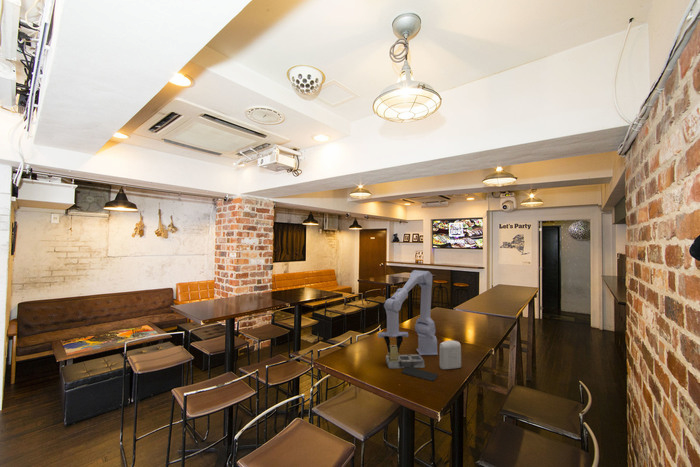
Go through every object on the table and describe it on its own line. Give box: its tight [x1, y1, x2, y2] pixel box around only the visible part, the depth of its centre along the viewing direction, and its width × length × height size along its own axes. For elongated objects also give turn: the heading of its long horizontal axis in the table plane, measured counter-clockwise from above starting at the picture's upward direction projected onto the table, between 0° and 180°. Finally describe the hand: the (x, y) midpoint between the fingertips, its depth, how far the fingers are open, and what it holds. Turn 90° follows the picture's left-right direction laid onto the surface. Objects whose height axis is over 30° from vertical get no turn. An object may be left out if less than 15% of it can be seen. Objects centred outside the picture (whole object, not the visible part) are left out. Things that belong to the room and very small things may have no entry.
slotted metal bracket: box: [385, 353, 425, 369], centre depth 136 cm, size 17×8×3 cm, turn 92°
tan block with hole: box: [386, 344, 401, 360], centre depth 136 cm, size 5×5×7 cm
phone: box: [401, 367, 439, 382], centre depth 126 cm, size 7×1×15 cm
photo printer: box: [438, 340, 462, 370], centre depth 132 cm, size 10×4×12 cm, turn 103°
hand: (393, 352), depth 136 cm, fingers closed on tan block with hole, 4 cm apart
